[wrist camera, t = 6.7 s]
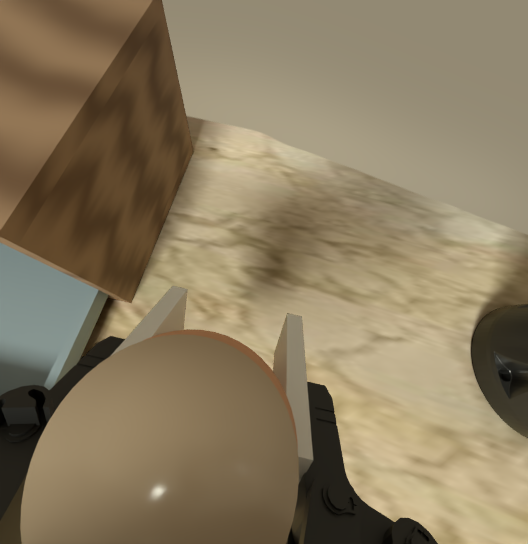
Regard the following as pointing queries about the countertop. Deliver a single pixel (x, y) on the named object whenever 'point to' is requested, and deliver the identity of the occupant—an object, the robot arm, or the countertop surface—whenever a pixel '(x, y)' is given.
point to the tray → (41, 321)
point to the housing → (89, 136)
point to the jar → (167, 450)
